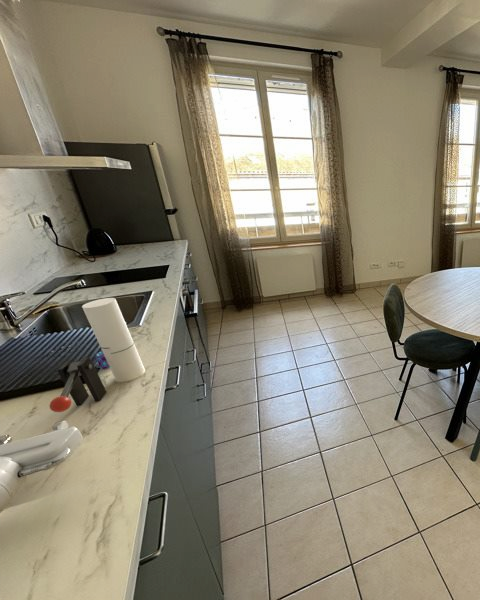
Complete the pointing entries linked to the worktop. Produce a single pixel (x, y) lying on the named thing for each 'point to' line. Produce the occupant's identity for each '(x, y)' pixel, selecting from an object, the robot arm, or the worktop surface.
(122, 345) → the cylindrical container
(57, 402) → the lever
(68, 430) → the robot arm
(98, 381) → the toaster bracket
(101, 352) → the pudding
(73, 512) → the worktop surface
